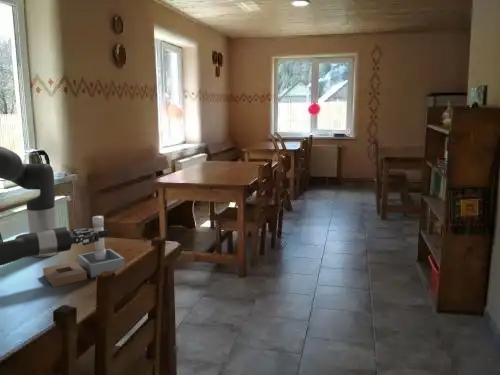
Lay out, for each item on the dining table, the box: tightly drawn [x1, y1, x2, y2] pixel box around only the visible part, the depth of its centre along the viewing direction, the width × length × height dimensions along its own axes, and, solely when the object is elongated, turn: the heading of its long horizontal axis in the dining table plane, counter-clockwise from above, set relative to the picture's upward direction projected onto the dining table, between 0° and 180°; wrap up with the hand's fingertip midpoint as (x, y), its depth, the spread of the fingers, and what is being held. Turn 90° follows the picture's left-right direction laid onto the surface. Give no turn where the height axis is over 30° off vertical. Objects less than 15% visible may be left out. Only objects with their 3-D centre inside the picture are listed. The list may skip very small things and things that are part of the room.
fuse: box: [91, 215, 106, 260], centre depth 151 cm, size 3×3×14 cm
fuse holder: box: [42, 261, 88, 288], centre depth 145 cm, size 12×10×2 cm
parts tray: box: [77, 248, 126, 278], centre depth 153 cm, size 13×11×4 cm
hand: (107, 231), depth 153 cm, fingers closed on fuse, 3 cm apart
